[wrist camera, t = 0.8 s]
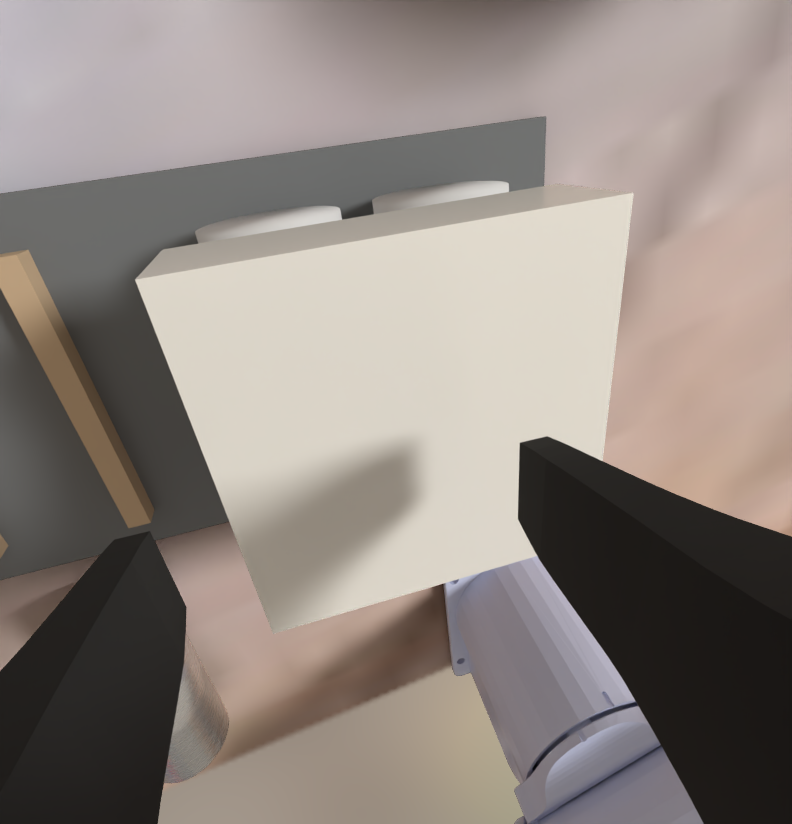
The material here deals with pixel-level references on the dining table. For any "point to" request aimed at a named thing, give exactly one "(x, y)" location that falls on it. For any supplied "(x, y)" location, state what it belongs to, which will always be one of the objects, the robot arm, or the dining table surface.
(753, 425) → the dining table surface
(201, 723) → the roller
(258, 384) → the slab
